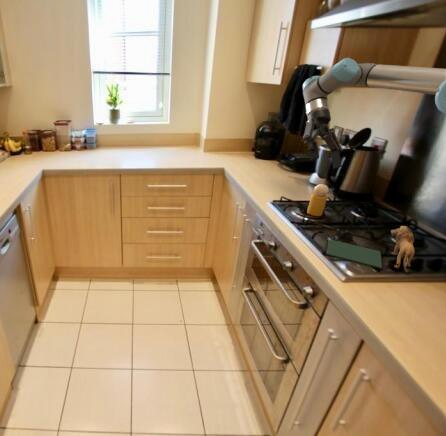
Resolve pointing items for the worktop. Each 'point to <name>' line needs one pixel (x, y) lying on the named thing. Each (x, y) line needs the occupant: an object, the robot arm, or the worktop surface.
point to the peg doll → (318, 200)
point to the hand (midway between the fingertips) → (326, 163)
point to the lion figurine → (403, 246)
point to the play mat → (354, 253)
